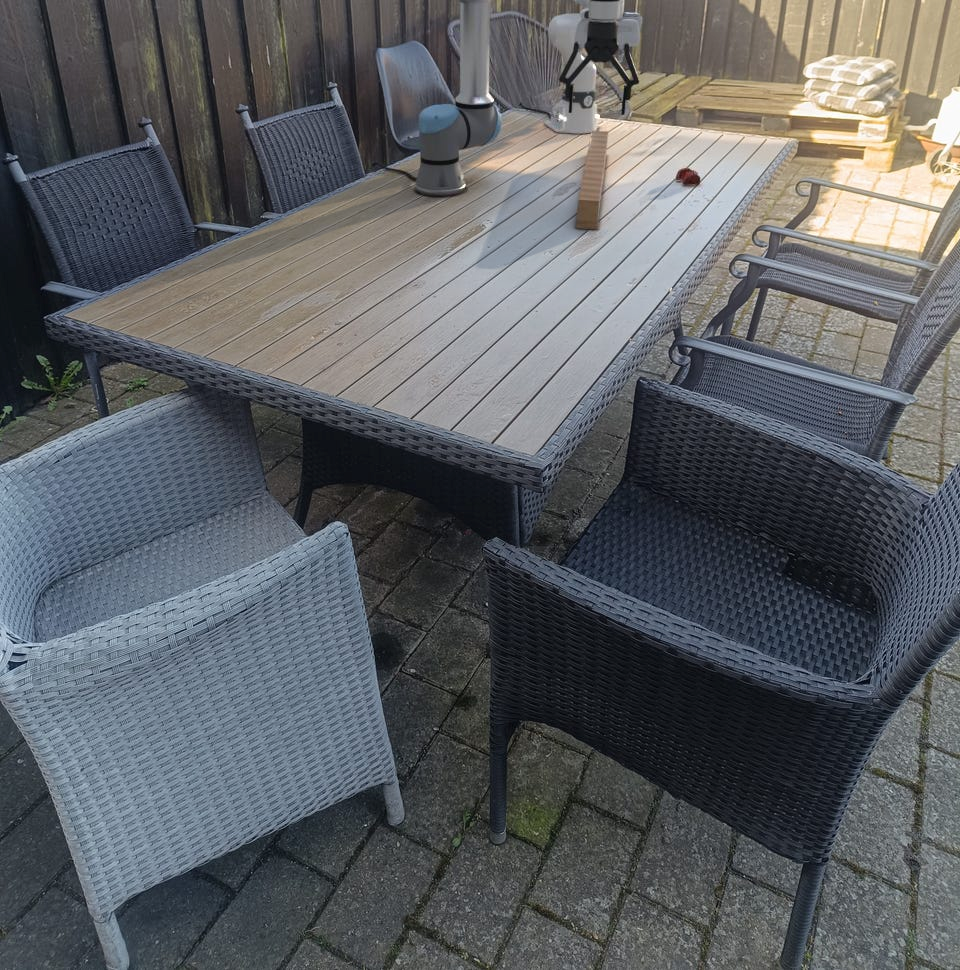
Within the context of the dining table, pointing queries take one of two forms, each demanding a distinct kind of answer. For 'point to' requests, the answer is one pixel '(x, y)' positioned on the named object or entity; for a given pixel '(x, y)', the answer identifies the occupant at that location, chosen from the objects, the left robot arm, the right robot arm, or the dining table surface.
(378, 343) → the dining table surface
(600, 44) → the left robot arm
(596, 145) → the beam
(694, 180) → the dark red lumpy piece
